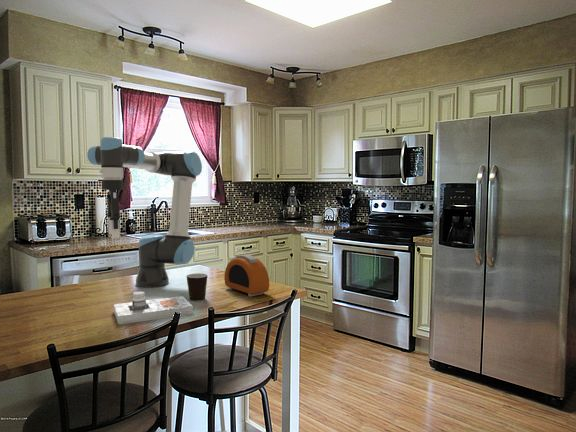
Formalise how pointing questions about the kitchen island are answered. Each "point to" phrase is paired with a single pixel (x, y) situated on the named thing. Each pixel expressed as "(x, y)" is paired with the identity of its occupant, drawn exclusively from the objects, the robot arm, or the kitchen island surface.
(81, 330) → the kitchen island surface
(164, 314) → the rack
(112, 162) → the robot arm
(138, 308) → the pill bottle
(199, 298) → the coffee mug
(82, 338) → the kitchen island surface
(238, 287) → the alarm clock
